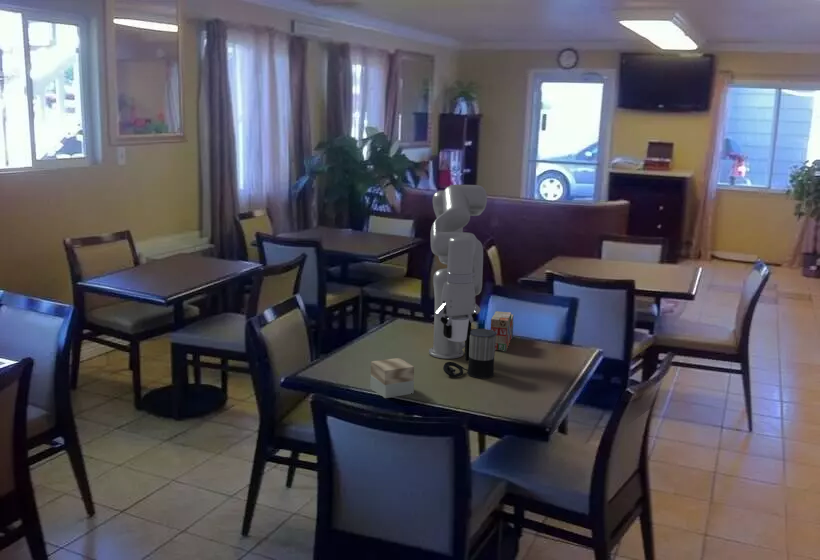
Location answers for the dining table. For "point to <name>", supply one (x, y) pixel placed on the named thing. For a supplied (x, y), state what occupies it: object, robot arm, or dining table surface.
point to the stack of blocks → (502, 329)
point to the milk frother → (477, 355)
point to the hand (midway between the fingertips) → (457, 335)
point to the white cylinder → (459, 328)
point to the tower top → (392, 371)
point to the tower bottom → (391, 388)
